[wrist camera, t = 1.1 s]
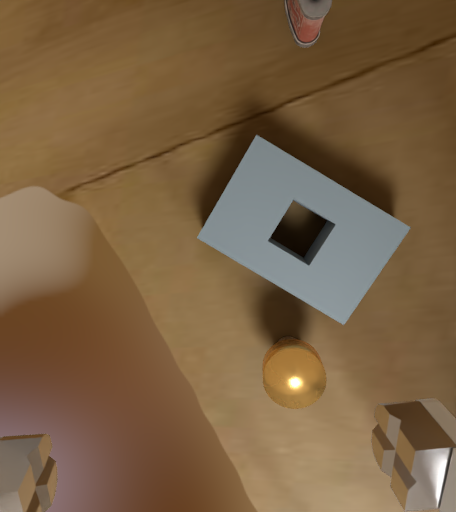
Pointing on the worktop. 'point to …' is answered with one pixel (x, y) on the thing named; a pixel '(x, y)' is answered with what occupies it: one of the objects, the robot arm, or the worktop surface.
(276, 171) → the blue-grey slotted block
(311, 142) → the worktop surface
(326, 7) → the lighter
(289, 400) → the orange domed piece
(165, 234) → the worktop surface
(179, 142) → the worktop surface
